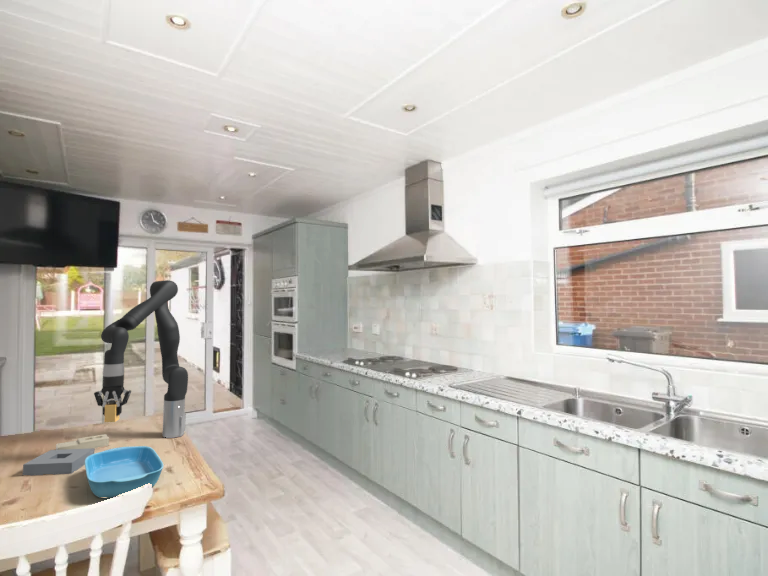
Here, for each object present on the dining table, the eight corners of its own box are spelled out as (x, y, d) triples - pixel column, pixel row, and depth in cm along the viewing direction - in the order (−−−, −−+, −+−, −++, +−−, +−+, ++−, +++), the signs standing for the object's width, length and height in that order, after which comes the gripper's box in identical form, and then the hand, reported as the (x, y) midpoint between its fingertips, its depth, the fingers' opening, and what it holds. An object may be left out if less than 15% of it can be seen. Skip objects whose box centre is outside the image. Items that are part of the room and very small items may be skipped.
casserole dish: (168, 491, 141) (169, 469, 141) (88, 510, 127) (89, 486, 127) (148, 459, 169) (149, 441, 170) (81, 472, 155) (82, 452, 156)
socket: (94, 458, 169) (94, 448, 169) (71, 473, 153) (72, 462, 153) (50, 460, 166) (50, 449, 167) (22, 475, 151) (23, 464, 151)
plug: (119, 419, 177) (120, 399, 177) (114, 422, 173) (115, 401, 173) (108, 419, 176) (109, 399, 176) (104, 422, 172) (105, 401, 172)
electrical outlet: (56, 441, 178) (106, 433, 190) (55, 451, 178) (105, 442, 190) (57, 445, 173) (109, 437, 185) (57, 455, 172) (108, 446, 184)
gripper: (135, 372, 180) (134, 412, 179) (99, 373, 178) (98, 413, 177) (128, 375, 173) (126, 417, 172) (90, 376, 170) (88, 418, 170)
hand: (112, 415), depth 175 cm, fingers closed on plug, 4 cm apart
